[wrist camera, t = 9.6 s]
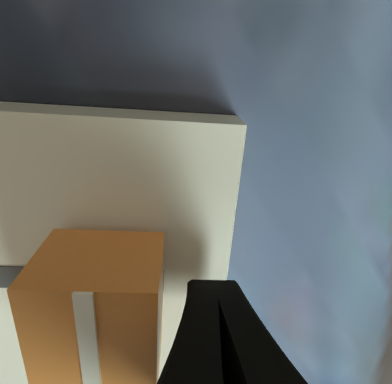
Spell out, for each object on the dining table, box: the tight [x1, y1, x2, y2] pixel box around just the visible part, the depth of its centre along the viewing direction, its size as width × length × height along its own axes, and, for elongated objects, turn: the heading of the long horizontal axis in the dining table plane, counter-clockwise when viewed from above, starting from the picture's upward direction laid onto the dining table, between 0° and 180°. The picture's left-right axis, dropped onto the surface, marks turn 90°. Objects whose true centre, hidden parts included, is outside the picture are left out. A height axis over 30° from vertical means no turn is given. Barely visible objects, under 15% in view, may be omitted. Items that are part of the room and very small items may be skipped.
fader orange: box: [7, 229, 165, 384], centre depth 8 cm, size 4×3×2 cm
